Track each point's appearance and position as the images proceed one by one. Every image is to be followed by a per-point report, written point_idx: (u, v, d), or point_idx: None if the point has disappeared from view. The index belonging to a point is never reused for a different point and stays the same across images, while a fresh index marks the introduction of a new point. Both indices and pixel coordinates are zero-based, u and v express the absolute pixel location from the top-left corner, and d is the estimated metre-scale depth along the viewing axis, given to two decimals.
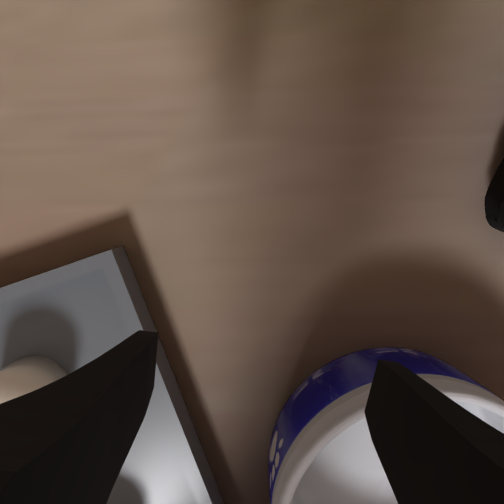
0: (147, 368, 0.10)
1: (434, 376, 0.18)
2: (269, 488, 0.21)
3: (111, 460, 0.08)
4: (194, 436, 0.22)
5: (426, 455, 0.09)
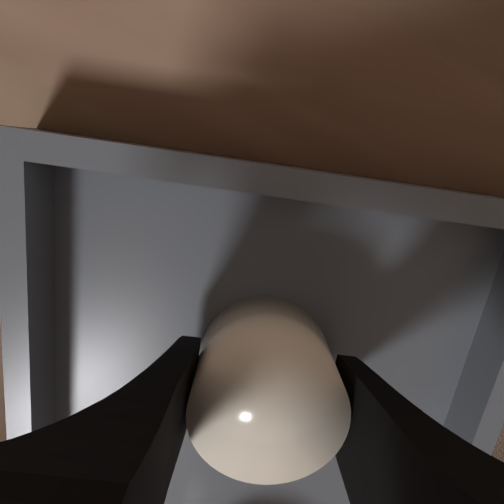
0: (193, 373, 0.10)
1: None
2: None
3: (168, 466, 0.08)
4: None
5: (371, 449, 0.09)
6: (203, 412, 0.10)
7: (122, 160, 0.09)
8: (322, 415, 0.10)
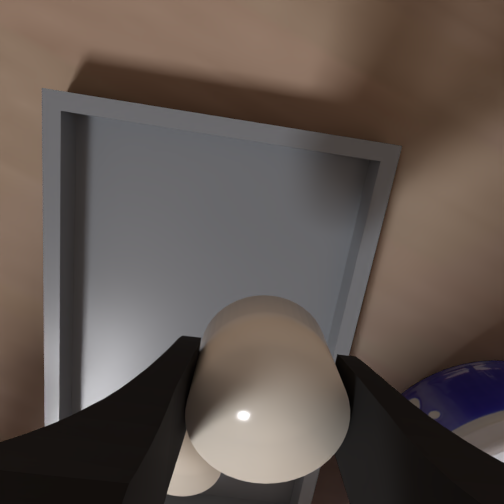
0: (193, 373, 0.10)
1: None
2: None
3: (168, 466, 0.08)
4: None
5: (371, 449, 0.09)
6: (202, 411, 0.10)
7: (119, 110, 0.16)
8: (321, 414, 0.10)
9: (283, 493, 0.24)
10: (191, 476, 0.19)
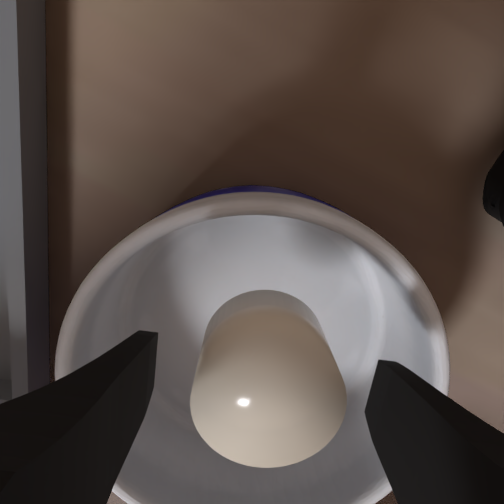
0: (147, 368, 0.10)
1: None
2: None
3: (111, 460, 0.08)
4: (40, 187, 0.17)
5: (425, 455, 0.09)
6: (206, 398, 0.10)
7: None
8: (319, 400, 0.10)
9: None
10: None
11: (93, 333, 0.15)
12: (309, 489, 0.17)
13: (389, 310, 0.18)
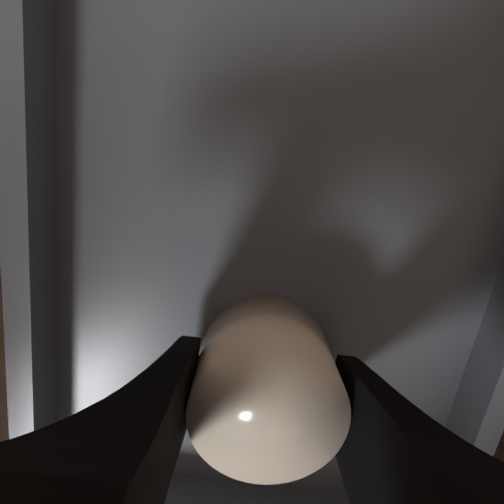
0: (193, 373, 0.10)
1: None
2: None
3: (168, 466, 0.08)
4: None
5: (371, 449, 0.09)
6: None
7: None
8: None
9: None
10: (287, 445, 0.10)
11: None
12: None
13: None
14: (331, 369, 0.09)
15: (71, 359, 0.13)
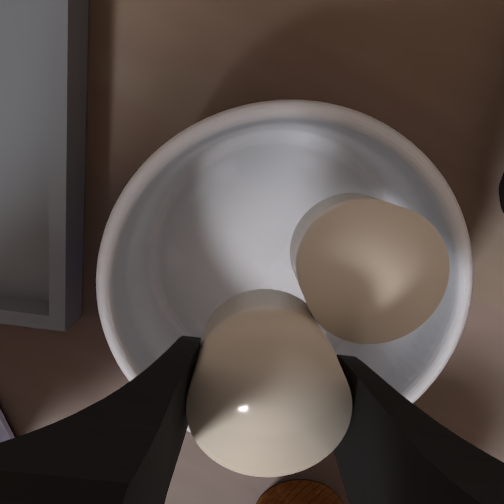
0: None
1: None
2: None
3: (168, 466, 0.08)
4: (81, 101, 0.17)
5: (371, 449, 0.09)
6: (318, 283, 0.11)
7: None
8: (423, 263, 0.11)
9: None
10: (290, 436, 0.10)
11: (129, 248, 0.16)
12: None
13: None
14: (329, 357, 0.09)
15: None
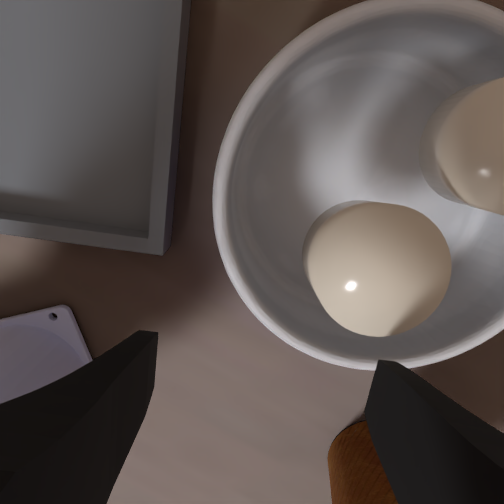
0: (147, 368, 0.10)
1: None
2: None
3: (111, 460, 0.08)
4: (187, 18, 0.17)
5: (425, 455, 0.09)
6: (482, 159, 0.11)
7: None
8: None
9: (146, 216, 0.20)
10: (385, 301, 0.12)
11: (235, 162, 0.16)
12: (426, 332, 0.18)
13: None
14: (448, 248, 0.12)
15: None
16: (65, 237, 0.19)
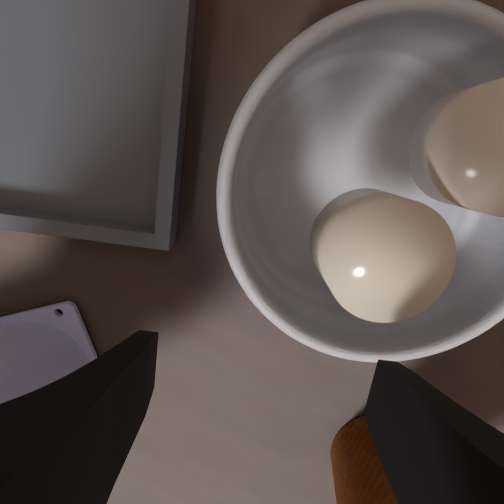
0: (147, 368, 0.10)
1: None
2: None
3: (111, 460, 0.08)
4: (193, 17, 0.18)
5: (425, 455, 0.09)
6: (467, 159, 0.11)
7: None
8: None
9: (151, 213, 0.20)
10: (392, 290, 0.12)
11: (238, 158, 0.16)
12: (425, 325, 0.18)
13: None
14: (454, 241, 0.12)
15: None
16: (72, 233, 0.19)
